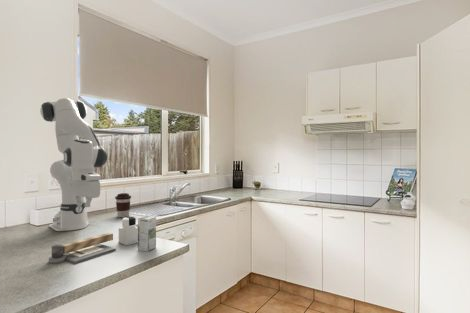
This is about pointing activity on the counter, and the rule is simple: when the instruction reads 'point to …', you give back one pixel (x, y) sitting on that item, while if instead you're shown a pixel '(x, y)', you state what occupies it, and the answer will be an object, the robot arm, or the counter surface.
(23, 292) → the counter surface
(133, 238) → the medicine bottle
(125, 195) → the coffee cup
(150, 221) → the syrup box
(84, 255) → the label board
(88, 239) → the swing arm
